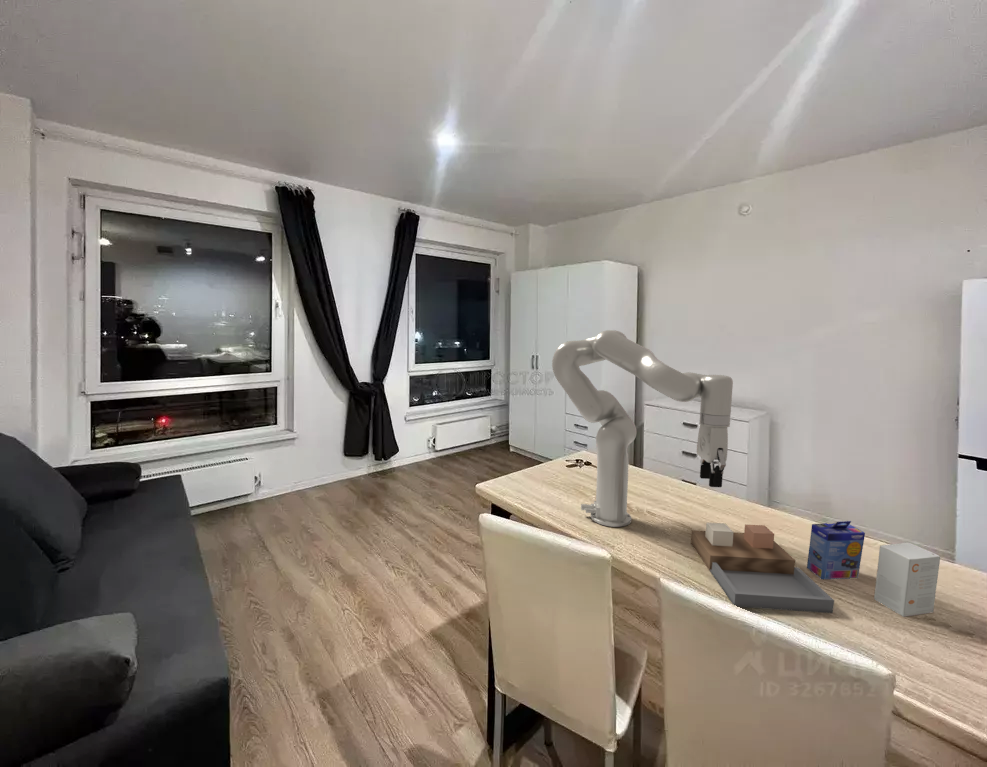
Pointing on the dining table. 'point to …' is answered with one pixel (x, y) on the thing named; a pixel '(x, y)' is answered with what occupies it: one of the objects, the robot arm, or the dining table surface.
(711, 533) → the cream block
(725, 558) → the bench plate
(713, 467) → the robot arm
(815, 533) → the ink cartridge box
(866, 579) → the dining table surface
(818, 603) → the tray
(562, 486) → the dining table surface
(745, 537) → the terracotta block
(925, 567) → the small box
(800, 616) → the dining table surface
